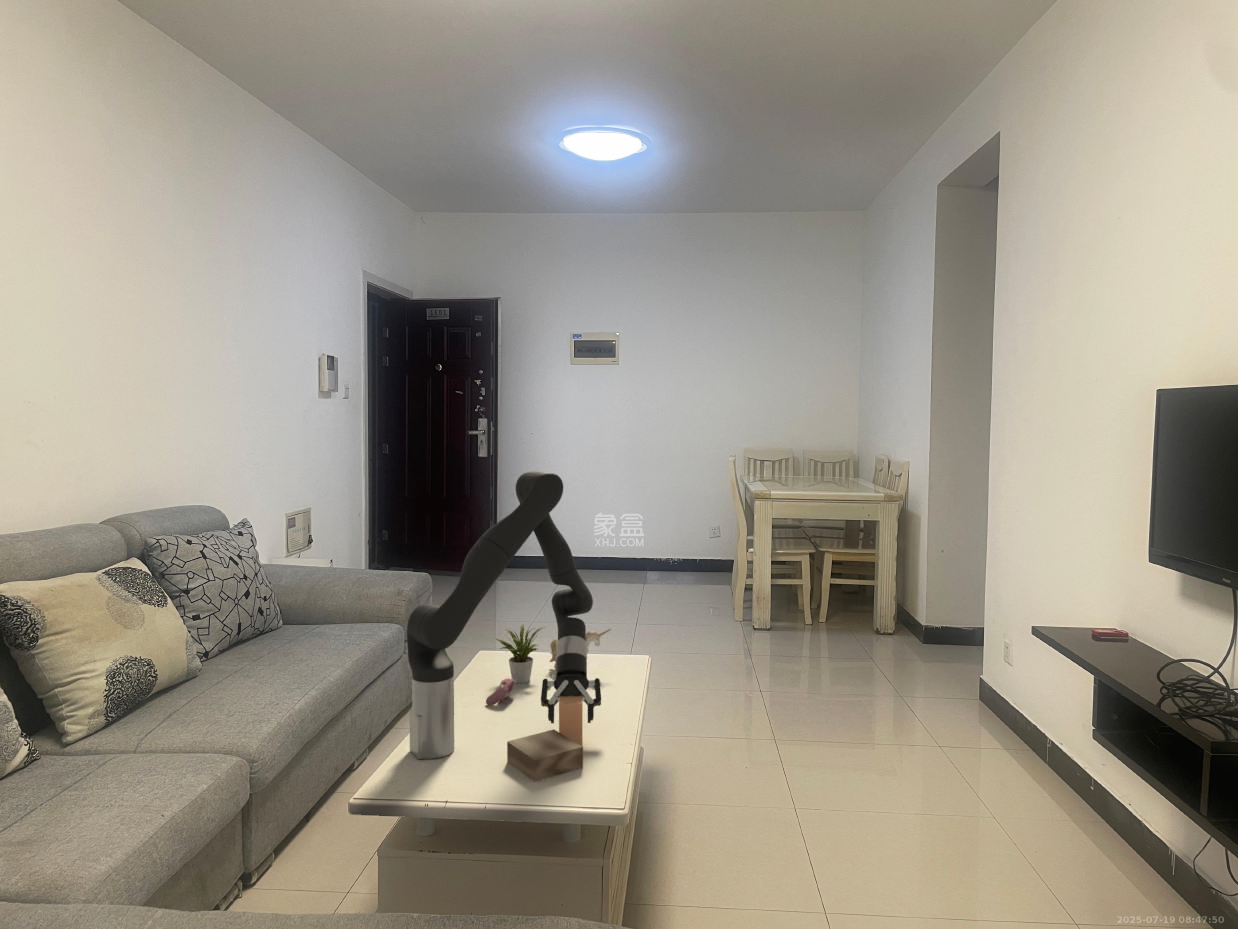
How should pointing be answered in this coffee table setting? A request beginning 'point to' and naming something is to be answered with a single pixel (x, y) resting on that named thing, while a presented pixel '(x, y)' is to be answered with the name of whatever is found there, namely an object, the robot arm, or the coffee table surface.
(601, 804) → the coffee table surface
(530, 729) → the coffee table surface
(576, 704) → the peach block
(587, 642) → the unicorn figurine
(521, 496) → the robot arm
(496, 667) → the coffee table surface
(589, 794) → the coffee table surface
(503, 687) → the pink rounded piece
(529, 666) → the house plant
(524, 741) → the walnut block
